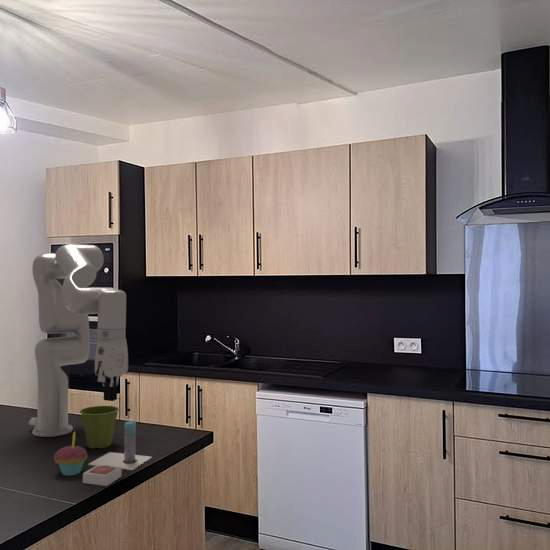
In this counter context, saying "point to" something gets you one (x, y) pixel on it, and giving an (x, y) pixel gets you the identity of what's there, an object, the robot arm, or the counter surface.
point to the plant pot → (99, 425)
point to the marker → (129, 441)
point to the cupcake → (71, 458)
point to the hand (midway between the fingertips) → (110, 399)
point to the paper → (119, 461)
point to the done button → (102, 470)
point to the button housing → (102, 476)
